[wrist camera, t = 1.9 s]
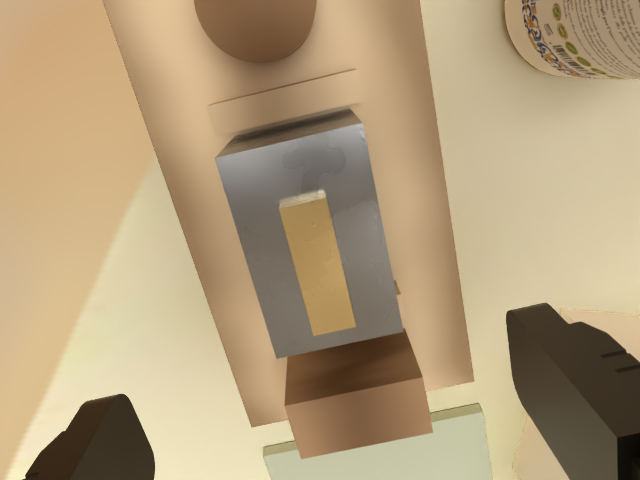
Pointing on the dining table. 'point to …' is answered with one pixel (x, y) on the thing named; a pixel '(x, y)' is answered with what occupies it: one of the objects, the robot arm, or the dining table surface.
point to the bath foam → (577, 36)
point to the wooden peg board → (388, 172)
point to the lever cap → (312, 232)
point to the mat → (398, 454)
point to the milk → (533, 452)
